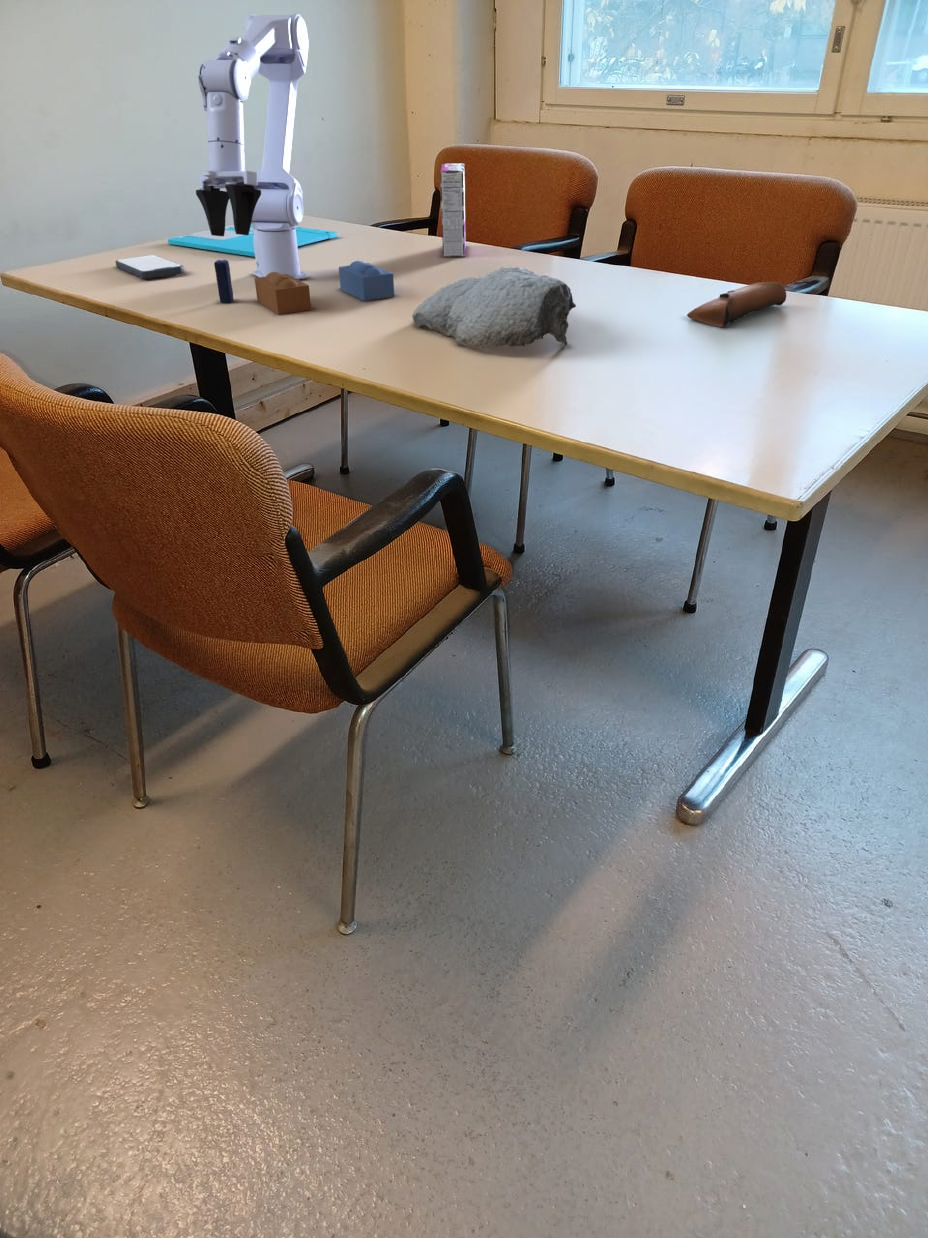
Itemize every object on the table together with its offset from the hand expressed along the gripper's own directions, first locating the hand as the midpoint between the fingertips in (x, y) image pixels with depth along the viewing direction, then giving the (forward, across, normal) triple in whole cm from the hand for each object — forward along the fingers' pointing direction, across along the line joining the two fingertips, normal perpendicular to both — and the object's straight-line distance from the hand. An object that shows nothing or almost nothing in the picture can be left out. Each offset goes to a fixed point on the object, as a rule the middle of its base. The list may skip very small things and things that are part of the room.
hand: (229, 235), depth 148 cm
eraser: (+11, -4, +2) cm, 12 cm away
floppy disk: (-3, -45, +34) cm, 57 cm away
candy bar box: (-2, -4, +57) cm, 57 cm away
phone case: (+6, -36, +4) cm, 37 cm away
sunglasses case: (+9, +65, +55) cm, 86 cm away
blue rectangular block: (+8, +9, +22) cm, 25 cm away
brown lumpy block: (+11, +5, +7) cm, 14 cm away
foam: (+13, +42, +21) cm, 49 cm away
